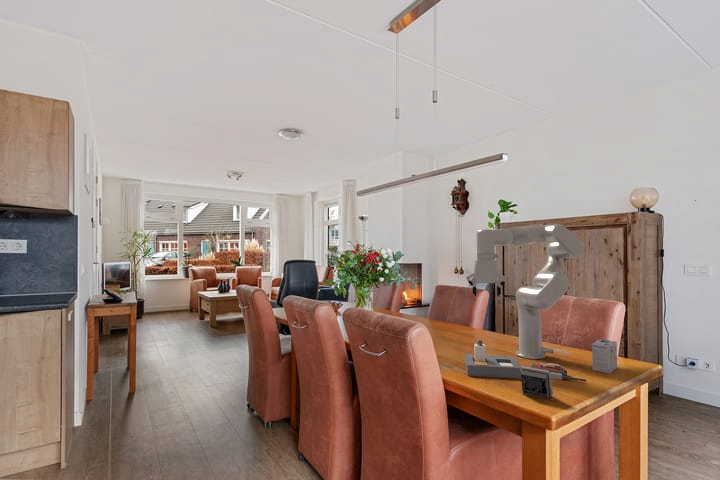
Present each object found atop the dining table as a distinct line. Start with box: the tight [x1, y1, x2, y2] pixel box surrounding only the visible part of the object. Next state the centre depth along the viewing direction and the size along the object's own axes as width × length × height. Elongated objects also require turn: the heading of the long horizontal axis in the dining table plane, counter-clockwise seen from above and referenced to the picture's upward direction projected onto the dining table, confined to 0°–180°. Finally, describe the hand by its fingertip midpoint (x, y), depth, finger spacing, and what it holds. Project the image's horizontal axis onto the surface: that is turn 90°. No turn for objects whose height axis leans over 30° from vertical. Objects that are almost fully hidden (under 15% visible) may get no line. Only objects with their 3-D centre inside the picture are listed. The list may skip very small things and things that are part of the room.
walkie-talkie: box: [530, 362, 587, 382], centre depth 144 cm, size 9×4×20 cm
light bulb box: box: [591, 338, 618, 374], centre depth 153 cm, size 11×7×11 cm, turn 134°
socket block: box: [464, 353, 522, 380], centre depth 151 cm, size 20×16×4 cm
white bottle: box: [473, 339, 487, 362], centre depth 153 cm, size 4×4×12 cm
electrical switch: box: [520, 365, 554, 400], centre depth 125 cm, size 9×5×9 cm, turn 51°
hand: (486, 296), depth 166 cm, fingers open, 9 cm apart
